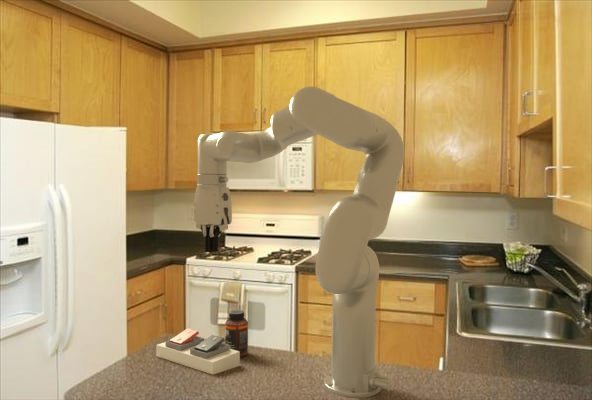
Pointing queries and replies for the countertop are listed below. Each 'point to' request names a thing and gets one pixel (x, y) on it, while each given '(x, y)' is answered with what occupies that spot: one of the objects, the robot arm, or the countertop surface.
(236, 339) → the supplement bottle
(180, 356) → the rocker switch panel
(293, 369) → the countertop surface
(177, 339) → the red rocker
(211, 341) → the black rocker
